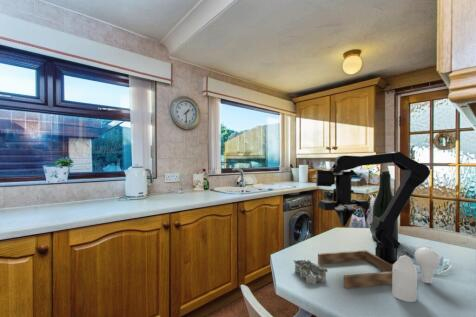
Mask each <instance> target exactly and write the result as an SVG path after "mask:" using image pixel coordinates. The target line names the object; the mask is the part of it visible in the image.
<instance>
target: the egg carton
mask: <svg viewBox="0 0 476 317" xmlns="http://www.w3.org/2000/svg"><path fill="white" fill-rule="evenodd" d="M293 263H294V272H295V273H298V274H299V276H300V278H304V279H305V282H306V283H307V284H312V285H316V284H317V282H320V283H326V277H327V274H326V273H328V269H327V268H326V267H325V266H320V265H318V264H316V263H314V262H312V261H311V260H310V259H307V260H306V259H304V260H303V259H298V260H294V259H293ZM311 272H312V273H314V274H316V275H315V276H314V275H312V274H311Z"/></svg>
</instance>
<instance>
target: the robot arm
mask: <svg viewBox="0 0 476 317" xmlns="http://www.w3.org/2000/svg"><path fill="white" fill-rule="evenodd" d="M389 163H393V164H394V165H395V166H396V167H398V169H400V170H401V171H402V172H401V178H400V184H399V185H398V187H397V189H396V191H395V193H394V194H393V198H392V199H391V201H390V203H389V205H388V206H387V208H386V210H385V212H384V213H383V215H382V216H380V217H379V218H377V217H376V216H375V217H374V219H373V221H372V220H371V223H369V226H370V227H369V230H370V231H369V232H370V234H371V236H372V235H373V236H374V237H375V238H376V240H378V241H379V242H376V243H375V244H376V246H375V254H374V255H376V256H378V257H379V258H381V259H383V260H384V261H386V262H388V263H390V264H391V265H393V264H394V263H395V262H396V261H397V260H398V249H399V247H400V245H401V243H400V242H399V240H398V241H397V240H396V239H395V238H394V237H393V234H394V231H395V222H396V220H397V218H398V219H399V216H400V215H401V214H402V211H403V210H404V208H405V207H406V205H407V203H408V201H409V200H410V198H411V196H412V195H413V193H414V191H415V189H417V188H418V187H420V186H421V185H422V184H423V183H424V182H425V181H426V180H427V179H428V178H429V176H430V175H431V170H430V167H429V166H428V165H426V164H424V163H419V162H418V161H416V160H414V159H412V158H411V157H408V156H407V155H405V154H404V153H403V152H401V151H391V152H387V153H385V152H384V153H377V154H370V155H369V154H368V155H338V156H337V157H336V158H335V160H334V164H333V165H332V167H330V169H316V174H315V175H316V176H315V186H316V187H328V188H329V187H332V185H335V188H333V190H332V191H333V192H330V190H329V191H328V190H327V191H323V198H324V200H319V202H318V203H317V204H318V208H319V209H321V210H324V211H335V213H336V214H337V216H338V220H339V222H340V224H341V226H342V227H346V226H347V223H348V222H349V220H350V219H351V217H352V215H353V214H354V213H355V212H356V211H357V210H356V209H355V207H360V209H362V210H366V209H367V210H368V209H370V204H369V202H368V201H367V200H364V199H361V198H355V199H354V198H353V199H352V194H354V190H353V189H352V177H357V176H358V174H357V172H355V171H354V170H353V169H356V168H359V167H362V166H369V165H381V164H389ZM348 170H349V171H348Z"/></svg>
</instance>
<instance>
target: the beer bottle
mask: <svg viewBox="0 0 476 317" xmlns="http://www.w3.org/2000/svg"><path fill="white" fill-rule="evenodd" d="M391 177H392V176H391V173H390V170H380V173H379V186H378V191H377V194H376V197H375V198H374V201H373V204H372V212H371V213H372V215H371V218H372V219H371V222H372V221H373V219H374V217H375V216H376V217H377V218H379V217H380V216H382V215H383V213H384V212H385V210H386V208H387V206H388V205H389V203H390V201H391V199H392V198H393V196H394V194H393V192H392V191H393V190H392V187H391V186H392V184H391ZM393 237H394V238H395V239H396V240H397V241H398V242H399V217H398V218H397V220H396V222H395V231H394V234H393ZM371 239H372V240H373V241H375V242H376V243H378V242H379V241H378V240H376V238H375V237H374V236H373V235H372V234H371Z"/></svg>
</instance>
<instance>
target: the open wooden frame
mask: <svg viewBox="0 0 476 317" xmlns="http://www.w3.org/2000/svg"><path fill="white" fill-rule="evenodd" d="M361 261H366V262H367V263H369V264H370V265H372V266H374V267H375V268H377V269H378V270H380V271H381V272H377V271H376V272H370V273H369V272H367V273H355V274H345V275H343V288H344V289H345V290H346V289H347V290H348V289H357V288H367V287H377V286H388V285H392V269H393V264H390V263H388V262H386V261H384V260H383V259H381V258H379V257H378V256H376V255H375V254H374V253H373V252H370V251H369V250H367V249H363V250H360V249H359V250H350V251H347V250H346V251H335V252H333V251H332V252H320V253H319V252H318V253H317V263H318V264H319V265H323V264H334V263H335V264H338V263H348V262H349V263H350V262H361Z"/></svg>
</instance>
